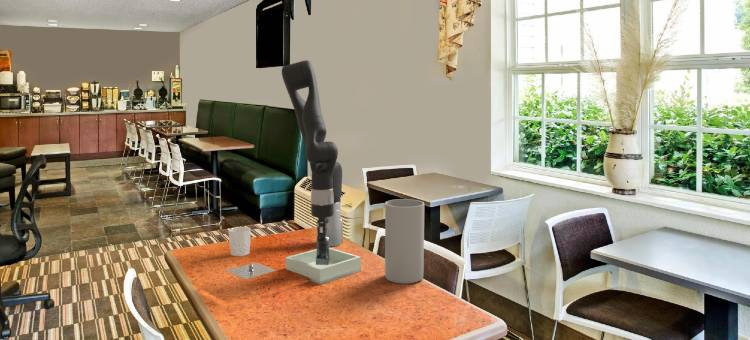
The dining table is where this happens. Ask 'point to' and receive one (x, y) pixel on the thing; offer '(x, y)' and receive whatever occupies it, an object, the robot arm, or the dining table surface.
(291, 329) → the dining table surface
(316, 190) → the robot arm
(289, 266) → the sage bin
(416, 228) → the cylinder vase
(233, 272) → the stud plate
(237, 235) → the white cup
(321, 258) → the dark grey stamp
